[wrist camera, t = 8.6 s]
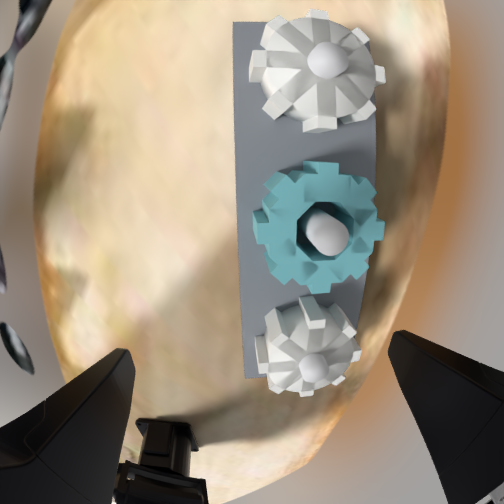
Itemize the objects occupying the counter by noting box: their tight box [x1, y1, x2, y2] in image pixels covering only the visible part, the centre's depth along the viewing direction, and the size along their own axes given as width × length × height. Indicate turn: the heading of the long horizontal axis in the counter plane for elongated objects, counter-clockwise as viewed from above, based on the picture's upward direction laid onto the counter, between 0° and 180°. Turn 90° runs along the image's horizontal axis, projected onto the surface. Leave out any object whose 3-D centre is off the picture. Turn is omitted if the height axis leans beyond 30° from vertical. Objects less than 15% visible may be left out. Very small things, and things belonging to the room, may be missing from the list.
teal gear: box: [253, 161, 385, 294], centre depth 15 cm, size 7×7×3 cm
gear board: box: [233, 9, 386, 397], centre depth 16 cm, size 26×9×6 cm, turn 1°
